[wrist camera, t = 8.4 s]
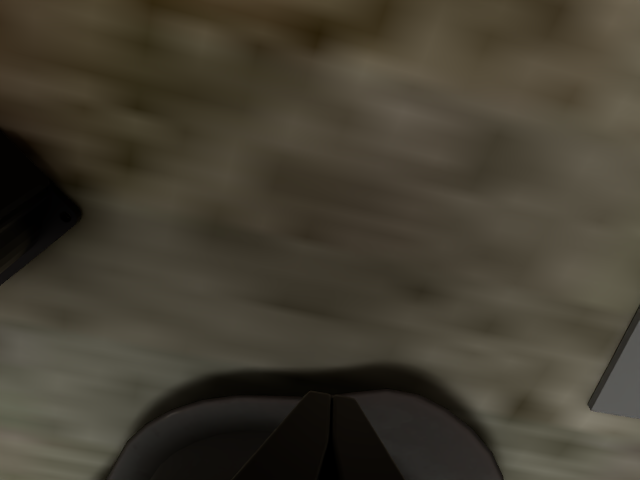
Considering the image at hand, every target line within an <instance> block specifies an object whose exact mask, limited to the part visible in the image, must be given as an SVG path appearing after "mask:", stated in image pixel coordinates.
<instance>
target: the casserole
mask: <svg viewBox="0 0 640 480" xmlns="http://www.w3.org/2000/svg"><path fill="white" fill-rule="evenodd" d="M335 395H339V396H345V397H351V398H354V399H355V400H356V401H357V402H358V404H359V406H360V407H361V409H362V410H363V412H364V414H365V415H366V417H367V419H368V420H369V422H370V423H371V425H372V427H373V428H374V430H375V431H376V433H377V435H378V436H379V438H380V440H381V441H382V443H383V444H384V446H385V448H386V449H387V451H388V453H389V454H390V456H391V457H392V459H393V461H394V462H395V464H396V465H397V467H398V469H399V470H400V472H401V474H402V475H403V477H404V478H405V480H504V479H503V475H502V473H501V471H500V469H499V467H498V465H497V462H496V460H495V458H494V456H493V454H492V452H491V451H490V450H489V448H488V447H487V446H486V445H485V444H484V442H483V441H482V440H481V439H480V438H479V436H478V435H477V434H476V433H475V432H474V430H473V429H472V428H471V427H469V426H468V425H467V424H465V423H464V422H463V421H462V420H460V419H459V418H458V417H457V416H455V415H454V414H453V413H452V412H450V411H449V410H448V409H446V408H444V407H442V406H440V405H438V404H436V403H434V402H433V401H431V400H429V399H427V398H425V397H423V396H421V395H418V394H413V393H408V392H403V391H398V390H393V389H379V390H370V391H361V392H352V393H343V394H335ZM333 396H334V395H331V399H332V397H333ZM302 398H303V397H300V396H262V395H234V396H226V397H219V398H212V399H205V400H200V401H197V402H194V403H191V404H188V405H185V406H182V407H178V408H175V409H172V410H170V411H168V412H166V413H165V414H163V415H161V416H159V417H158V418H156V419H154V420H152V421H151V422H149V423H147V424H146V425H145V426H143V427H142V428H141V429H140V430H139V431H138V432H137V433H136V434H135V435H134V436H133V437H132V438H131V439H130V440H129V441H127V443H126V445H125V447H124V449H123V450H122V452H121V454H120V456H119V457H118V459H117V461H116V463H115V464H114V466H113V468H112V470H111V472H110V473H109V475H108V477H107V479H106V480H231V479H232V478H233V477H234V476H235V475H236V474H237V473H238V471H239V470H240V469H241V468H242V467H243V466H244V465H245V463H246V462H247V461H248V460H249V459H250V458H251V457H252V455H253V454H254V453H255V452H256V451H257V450H258V449H259V447H260V446H261V445H262V444H263V443H264V442H265V441H266V439H267V438H268V437H269V436H270V435H271V434H272V433H273V431H274V430H275V429H276V428H277V427H278V426H279V425H280V423H281V422H282V421H283V420H284V419H285V418H286V417H287V415H288V414H289V413H290V412H291V411H292V410H293V408H294V407H295V406H296V405H297V404H298V403H299V402H300V400H301V399H302Z"/></svg>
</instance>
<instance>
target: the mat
mask: <svg viewBox="0 0 640 480" xmlns="http://www.w3.org/2000/svg"><path fill="white" fill-rule="evenodd" d="M588 406H589V408H590V410H591V411H595V412H601V413H607V414H613V415H619V416H625V417H631V418H637V419H640V307H639V309H638V311H637V313H636V315H635V316H634V318H633V320H632V322H631V324H630V326H629V328H628V330H627V332H626V333H625V335H624V337H623V339H622V341H621V343H620V345H619V347H618V349H617V350H616V352H615V354H614V356H613V358H612V360H611V362H610V364H609V366H608V367H607V369H606V371H605V373H604V375H603V377H602V379H601V381H600V383H599V384H598V386H597V388H596V390H595V392H594V394H593V396H592V398H591V400H590V401H589V403H588Z"/></svg>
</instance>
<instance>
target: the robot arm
mask: <svg viewBox="0 0 640 480" xmlns="http://www.w3.org/2000/svg"><path fill="white" fill-rule="evenodd" d="M65 212H67V213H69V214H70V216H71V218H68V217H67V216H66V215H65ZM80 219H81V212H80V210H79V209H78V207H77V206H76V205H75V204H74V203H73V202H72V201H71V200H70V199H69V198H68V197H67V196H66V195H65V194H64V193H63V192H62V191H61V190H60V189H59V188H58V187H57V186H56V185H55V184H54V183H53V182H52V181H51V180H50V179H49V178H48V177H47V176H46V175H45V174H44V173H43V172H42V171H41V170H40V169H39V168H38V167H37V166H36V165H35V164H34V163H33V162H32V161H31V160H30V159H29V158H28V157H27V156H26V155H25V154H24V153H23V152H22V151H21V150H20V149H19V148H18V147H17V146H16V145H15V144H14V143H13V142H12V141H11V140H10V139H9V138H8V137H7V136H6V135H5V134H4V133H3V132H2V131H1V130H0V285H1V284H3V283H4V282H5V281H6V280H8V279H9V278H10V277H11V276H13V275H14V274H15V273H16V272H18V271H19V270H20V269H21V268H22V267H24V266H25V265H26V264H27V263H29V262H30V261H31V260H32V259H34V258H35V257H36V256H37V255H39V254H40V253H41V252H42V251H43V250H45V249H46V248H47V247H48V246H50V245H51V244H52V243H53V242H55V241H56V240H57V239H58V238H60V237H61V236H62V235H63V234H65V233H66V232H67V231H68V230H69V229H71V228H72V227H73V226H74V225H76V224H77V223H78V222H79V221H80ZM231 480H405V478H404V477H403V475H402V474H401V472H400V470H399V469H398V467H397V465H396V464H395V462H394V461H393V459H392V457H391V456H390V454H389V453H388V451H387V449H386V448H385V446H384V444H383V443H382V441H381V440H380V438H379V436H378V435H377V433H376V431H375V430H374V428H373V427H372V425H371V423H370V422H369V420H368V419H367V417H366V415H365V414H364V412H363V410H362V409H361V407H360V406H359V404H358V402H357V401H356V400H355V399H354V398H351V397H345V396H339V395H334V396H333V397H332V399H331V395H330V394H328V393H322V392H316V391H309V392H308V393H307V394H306V395H305V396H304V397H303V398H302V399H301V400H300V402H299V403H298V404H297V405H296V406H295V407H294V408H293V410H292V411H291V412H290V413H289V414H288V415H287V417H286V418H285V419H284V420H283V421H282V422H281V423H280V425H279V426H278V427H277V428H276V429H275V430H274V431H273V433H272V434H271V435H270V436H269V437H268V438H267V439H266V441H265V442H264V443H263V444H262V445H261V446H260V447H259V449H258V450H257V451H256V452H255V453H254V454H253V455H252V457H251V458H250V459H249V460H248V461H247V462H246V463H245V465H244V466H243V467H242V468H241V469H240V470H239V471H238V473H237V474H236V475H235V476H234V477H233V478H232V479H231Z"/></svg>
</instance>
